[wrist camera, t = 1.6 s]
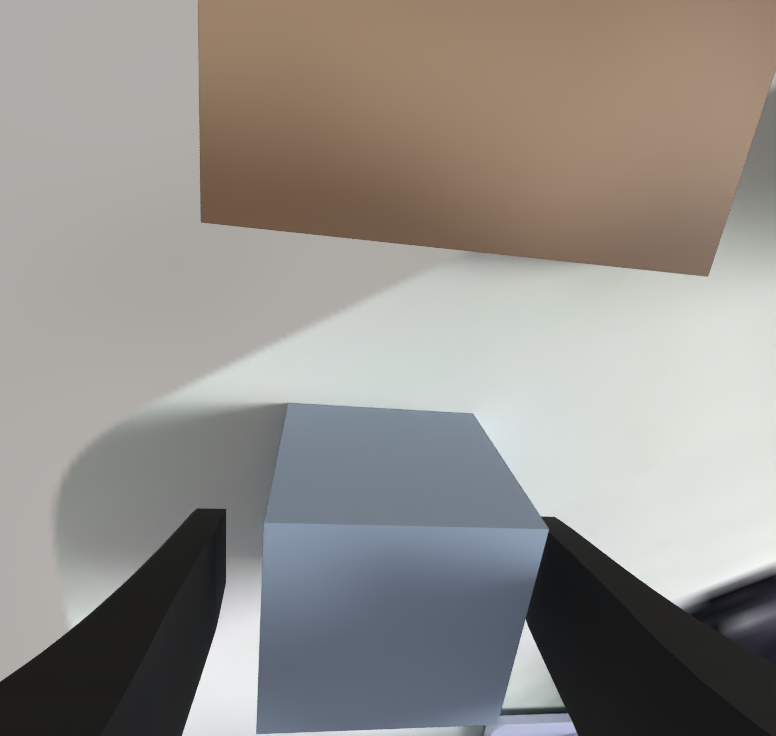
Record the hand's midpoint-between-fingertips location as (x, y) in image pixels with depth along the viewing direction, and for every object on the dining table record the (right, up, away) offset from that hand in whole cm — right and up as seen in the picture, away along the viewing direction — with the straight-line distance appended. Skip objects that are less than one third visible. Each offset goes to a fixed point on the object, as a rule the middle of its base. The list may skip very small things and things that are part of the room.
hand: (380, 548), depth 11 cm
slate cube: (0, +1, +3) cm, 3 cm away
